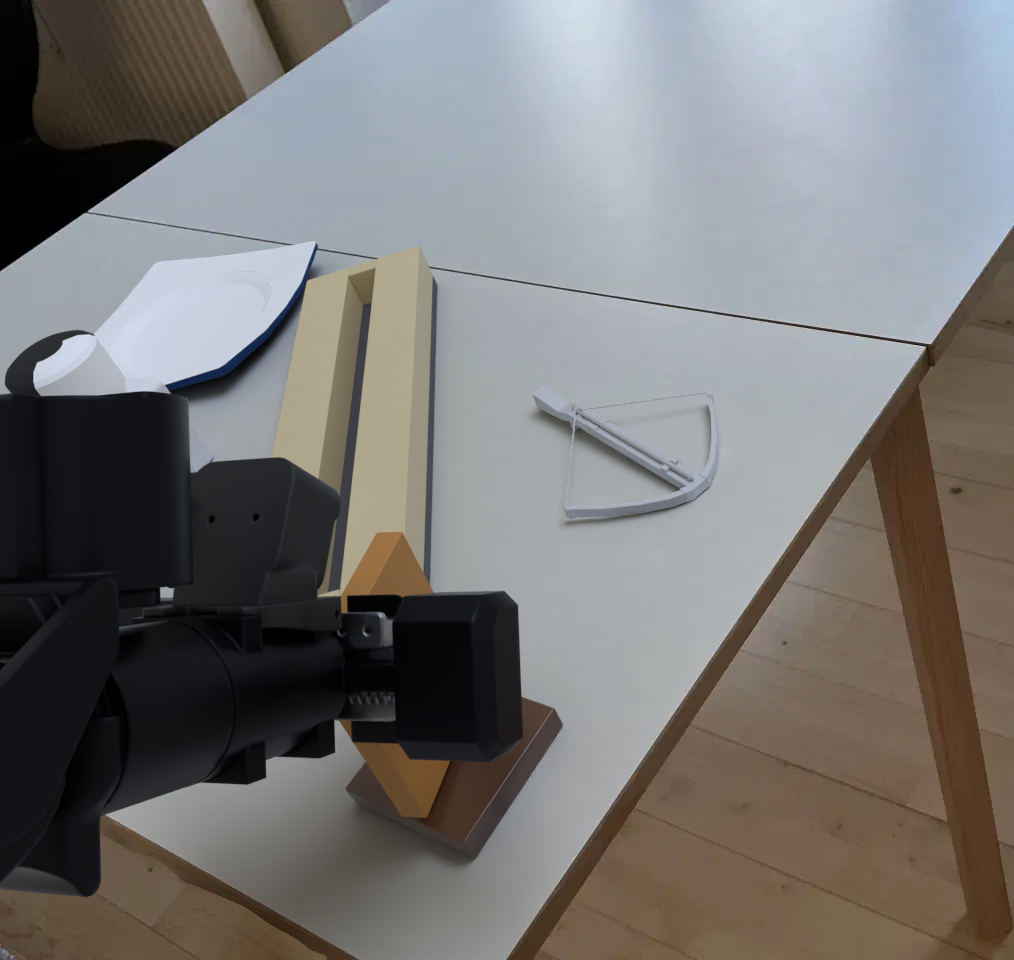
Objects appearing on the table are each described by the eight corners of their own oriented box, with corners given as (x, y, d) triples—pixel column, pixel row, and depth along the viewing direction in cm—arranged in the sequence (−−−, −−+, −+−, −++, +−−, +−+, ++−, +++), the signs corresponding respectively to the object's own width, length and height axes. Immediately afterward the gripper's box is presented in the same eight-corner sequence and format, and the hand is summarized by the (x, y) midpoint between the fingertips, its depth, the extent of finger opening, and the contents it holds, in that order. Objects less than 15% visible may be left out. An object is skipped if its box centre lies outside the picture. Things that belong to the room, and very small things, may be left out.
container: (79, 520, 82) (-35, 385, 74) (146, 449, 87) (46, 316, 79) (151, 530, 79) (40, 390, 71) (217, 456, 84) (120, 317, 75)
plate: (242, 400, 89) (225, 374, 87) (48, 415, 96) (29, 391, 94) (343, 258, 103) (330, 233, 101) (167, 280, 110) (153, 257, 108)
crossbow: (774, 441, 69) (769, 417, 68) (629, 566, 65) (621, 543, 63) (609, 354, 79) (602, 331, 78) (473, 457, 75) (463, 435, 73)
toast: (427, 818, 52) (329, 664, 45) (401, 817, 52) (300, 664, 46) (481, 684, 58) (402, 530, 51) (457, 684, 58) (376, 531, 52)
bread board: (474, 860, 52) (463, 843, 51) (356, 804, 56) (343, 788, 55) (564, 724, 57) (554, 707, 56) (448, 682, 61) (438, 666, 60)
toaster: (429, 634, 64) (401, 589, 61) (255, 683, 65) (220, 641, 62) (437, 284, 94) (419, 245, 92) (319, 321, 95) (297, 283, 92)
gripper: (398, 451, 35) (584, 466, 50) (-43, 481, 41) (240, 487, 56) (410, 808, 34) (594, 716, 49) (-37, 785, 40) (246, 709, 55)
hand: (407, 647), depth 52 cm, fingers closed on toast, 1 cm apart
